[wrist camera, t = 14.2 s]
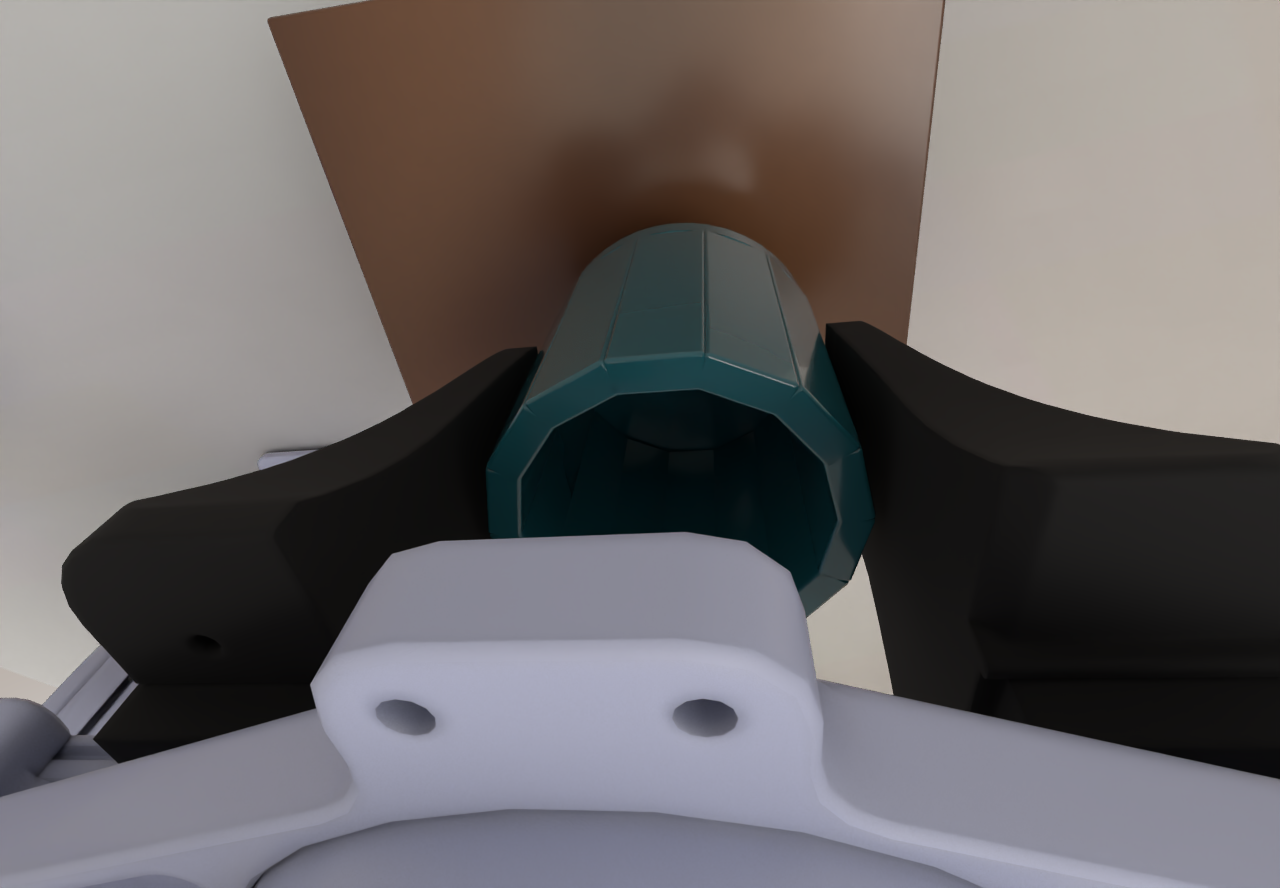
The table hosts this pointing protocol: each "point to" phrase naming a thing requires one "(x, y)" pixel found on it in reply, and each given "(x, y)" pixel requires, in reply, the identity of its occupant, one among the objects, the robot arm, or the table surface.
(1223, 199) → the table surface
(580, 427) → the tumbler
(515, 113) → the lid
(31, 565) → the table surface
